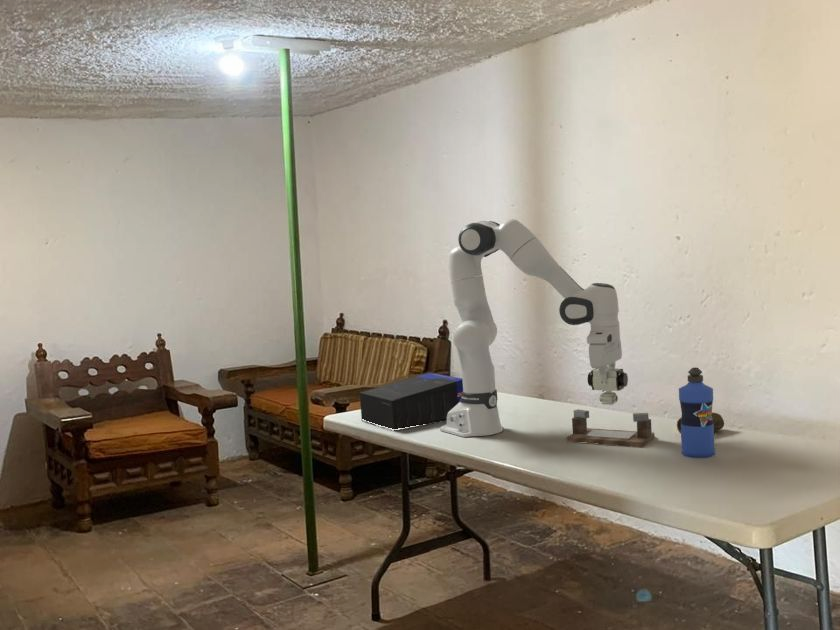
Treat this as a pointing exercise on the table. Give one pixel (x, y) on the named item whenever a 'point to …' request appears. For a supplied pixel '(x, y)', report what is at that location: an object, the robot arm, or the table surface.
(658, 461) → the table surface
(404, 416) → the headphone box
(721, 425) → the brown wooden cylinder
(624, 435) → the grey long bracket
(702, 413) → the water bottle
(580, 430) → the shaft rig base
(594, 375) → the pneumatic valve
